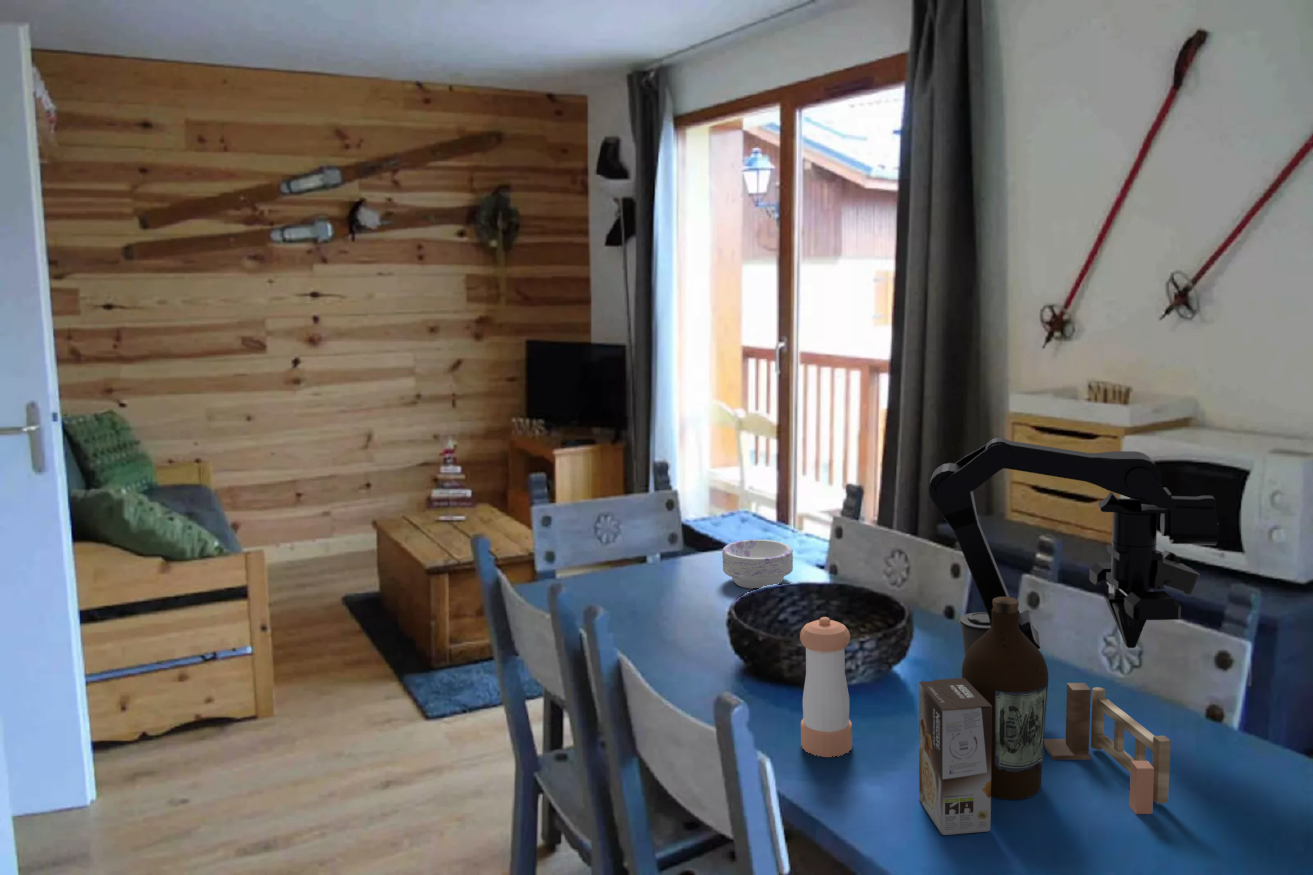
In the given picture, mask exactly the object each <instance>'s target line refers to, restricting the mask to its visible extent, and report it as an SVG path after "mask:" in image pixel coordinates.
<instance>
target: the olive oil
mask: <svg viewBox="0 0 1313 875" xmlns="http://www.w3.org/2000/svg"><path fill="white" fill-rule="evenodd" d="M1019 603H1020V602H1019V600H1018V599H1016V598H1015V597H1012V596H1011V597H1010V596H1009V597H996V598H994V599H993V609H992V610H991V611H992V626H991V628H990V629H989V630H988V631H987V632H986V633H985V634H983V635H982V636H981V637H980V638H979V639H978V640H977V641H975V642H974V643H973V644H972V645H971V646H970V648H969V649H968V650H967V652H966V655H965V654H964V658H963V660H962V665H961V678H965V679H966V680H967V681H968V682H969V683H970V684H971V685H972V686H973V687H974V688H975V689H976V690H977V691H978V692H979V693H980V694H981V695H982V696H983V697H984V698H985V699H986V700H987V701H988V702H989V703H990V704H991V706H992V745H991V798H992V799H993V798H994V799H998V800H1007V801H1008V800H1010V801H1014V800H1015V801H1016V800H1024V799H1028V798H1031V797H1034V796H1035V795H1036V794H1038V792H1040V790H1041V786H1042V777H1043V776H1042V775H1043V763H1044V759H1045V749H1044V745H1043V742H1044V739H1045V729H1046V728H1045V726H1046V714H1047V713H1046V711H1047V701H1048V700H1047V699H1048V688H1049V671H1048V670H1049V669H1048V666H1047V663H1046V660H1045V657H1044V655H1043V654H1042V652H1041V651H1040V649H1038V648H1037V647H1036V646H1035V645H1034V644H1033V643H1032V642H1031V641H1030V640H1029V639H1028V638H1027V637H1026V636H1025V635H1024V634H1023V633H1022V632H1021V630H1020V629H1019V613H1020V610H1019Z"/></svg>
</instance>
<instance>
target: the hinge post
mask: <svg viewBox="0 0 1313 875" xmlns="http://www.w3.org/2000/svg"><path fill="white" fill-rule="evenodd" d="M1091 692H1092V691H1091V688H1090V687H1089V685H1087V684H1086V682H1067V683H1066V701H1065V702H1066V707H1065V708H1066V711H1065V712H1066V713H1065V738H1044V742H1043V748H1045V750H1046V752H1047V753H1048V754H1049V756H1050V758H1051V759H1052V760H1057V761H1059V760H1062V761H1063V760H1069V761H1070V760H1074V761H1079V760H1081V761H1082V760H1083V761H1084V760H1085V761H1086V760H1091V754H1090V730H1091V729H1090V725H1091V723H1090V722H1091V721H1090V720H1091V719H1090V717H1091V695H1092V694H1091Z"/></svg>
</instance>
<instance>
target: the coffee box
mask: <svg viewBox="0 0 1313 875" xmlns="http://www.w3.org/2000/svg"><path fill="white" fill-rule="evenodd" d="M991 745H992V706H991V704H990V703H989V702H988V701H987V700H986V699H985V698H984V697H983V696H982V695H981V694H980V693H979V692H978V691H977V690H976V689H975V688H974V687H973V686H972V685H971V684H970V683H969V682H968V681H967V680H966V679H965V678H962V677H959V678H956V677H955V678H941V679H933V680H927V681H919V682H918V747H919V748H918V754H919V755H918V760H919V761H918V769H919V770H918V771H919V772H918V774H919V775H918V776H919V779H918V780H919V782H918V784H919V785H918V787H919V793H918V794H919V795H918V796H919V797H918V800H919V799H920V800H919V802H920V801H921V802H920V803H921V805H922V806H923V808H924V809H925V811H926V813H927V814H928V816H929V817H930V819H931V821H932V822H933V823H934V825H935V826H936V827H937V829H938V831H939V832H940V834H941V835H943V836H950V835H952V836H953V835H962V834H973V833H987V832H990V831H991V824H992V823H991V821H992V820H991V818H992V817H991V816H992V813H991V812H992V797H991Z"/></svg>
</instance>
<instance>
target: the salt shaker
mask: <svg viewBox="0 0 1313 875" xmlns="http://www.w3.org/2000/svg"><path fill="white" fill-rule="evenodd" d="M799 640H800V642H801V644H802V646H804V648H805V680H804V686H803V695H802V717H803V718H802V719H801V721H800V747H801V746H802V747H801V749H802V750H803V749H804V750H805V751H804V750H803V751H804V752H806V753H807V752H808V753H807V754H809V753H811V754H810V755H812V754H813V755H812V756H816V755H817V756H816V757H820V756H821V758H836V757H835V756H837V757H841V756H844V755H843V754H845V753H847V754H849V753H850V752H851V751H850V750H852V749H853V723H852V721H851V720H850V695H849V690H848V683H847V677H846V660H845V656H846V654H845V650H846V648H847V647H848V645H849V643H850V641H851V634H850V631H849V629H848V628H847V627H846V625H844V624H843V623H841V622H839V621H835V620H832V619H830V617H827V616H822V617H820V618H819V619H816V620H812V621H811V622H807V623H806V624H805V625H803V627H802V628H801V630H800V634H799ZM849 751H850V752H849ZM840 755H841V756H840ZM845 755H846V754H845ZM832 756H833V757H832Z"/></svg>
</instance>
